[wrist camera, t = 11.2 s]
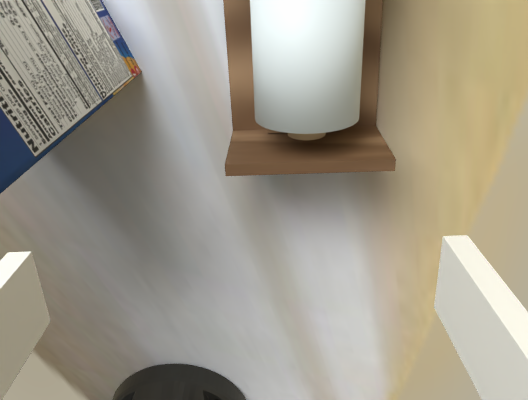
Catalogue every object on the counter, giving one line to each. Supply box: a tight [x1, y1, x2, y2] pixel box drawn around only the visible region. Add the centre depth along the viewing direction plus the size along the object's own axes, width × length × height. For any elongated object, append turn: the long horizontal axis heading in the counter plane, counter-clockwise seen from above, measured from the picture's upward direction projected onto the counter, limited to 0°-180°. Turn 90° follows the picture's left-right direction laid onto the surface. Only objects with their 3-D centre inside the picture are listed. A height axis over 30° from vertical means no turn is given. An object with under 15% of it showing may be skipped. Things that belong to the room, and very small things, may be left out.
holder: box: [223, 0, 396, 176], centre depth 32 cm, size 15×11×8 cm
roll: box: [250, 0, 365, 140], centre depth 31 cm, size 11×7×7 cm, turn 2°
